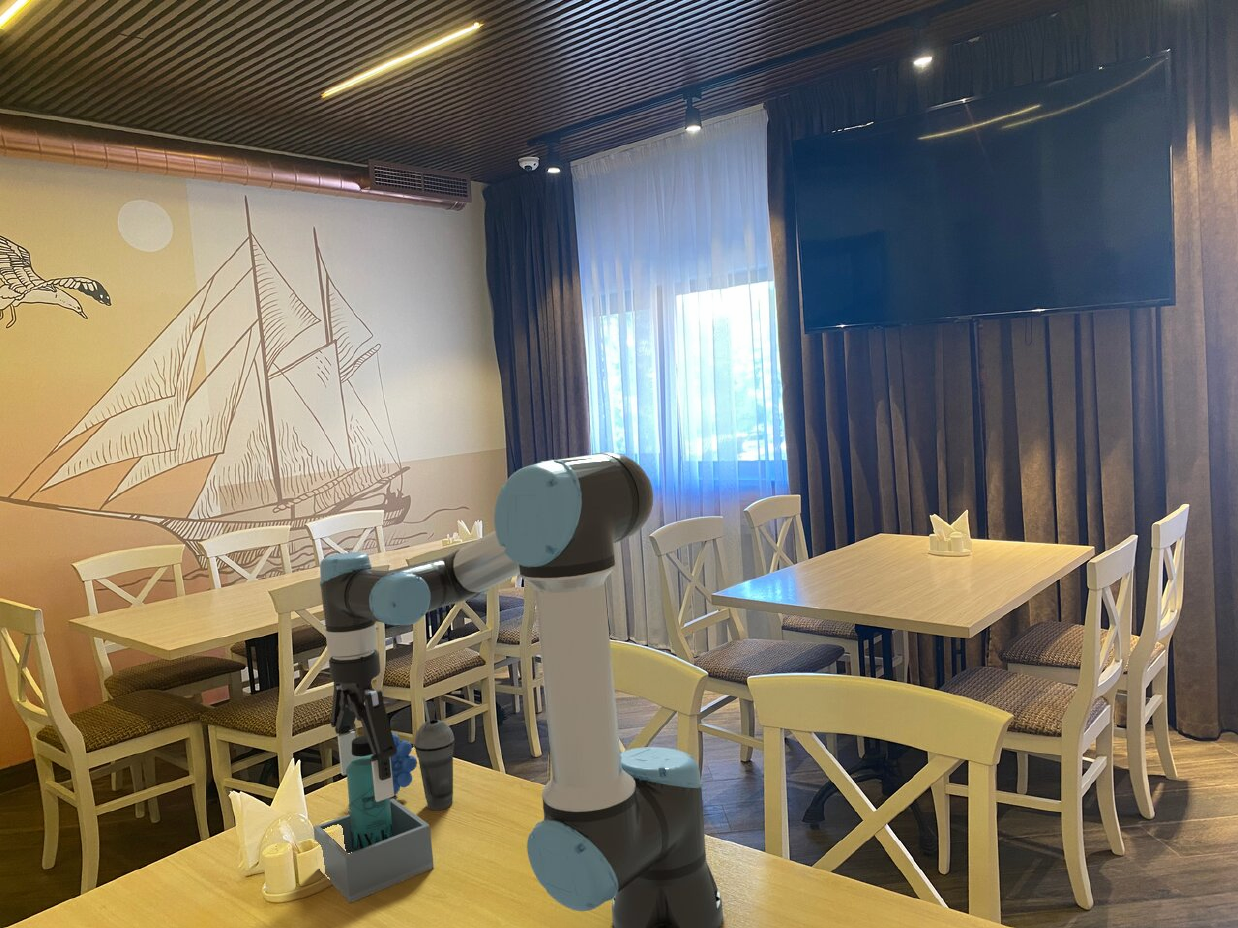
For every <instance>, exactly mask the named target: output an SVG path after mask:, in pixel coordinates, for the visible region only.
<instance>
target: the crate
mask: <svg viewBox="0 0 1238 928" xmlns="http://www.w3.org/2000/svg"><path fill="white" fill-rule="evenodd" d="M390 802H391V803H390V806H391V807H390V808H391V810H392V811H391V820H392V821H393V822H392V830H393V832H394V833H393V835H394V836H393V837H391V838H389V839H386V840H383V841H381V842H378V843H376V844H373V845H370V846H368V847H365V848H363V849H360V850H357V851H355V852H353V848H352V845H351V840H352V837H351V833H350V829H351V827H350V826H351V824H350V823H351V822H350V813H348V814H345V815H343V816H340V817H336V818H334V819H331V820H329V821H326V822H323V823H320V824H318V825H315V826H314V825H313V837H314V838H313V839H314V841H315V840H316V841H317V842H318V843H319V844H320V845H321V847H322V850H323V857H324V865H325V874H326V875H327V877H329V878H330V881H331V882H330V881H329V882H330V883H331V884H332V886H333V887H334V888H335V889H336V890H337V891H338V892H339V893H340V894H341V895H342V897H344V898H345V899H346V900H347V901H348V902H349V904H352V903H353V902H356V901H359V900H361V899H363V898H364V899H365V898H366V897H368V896H371V895H373V894H376V893H378V892H380V891H383V890H385V889H387V888H391V887H392V886H394V885H397V884H399V883H401V882H404V881H406V880H409V879H411V878H414V877H416V876H419V875H420V874H423V873H425V872H426V873H427V872H428V871H431V870H433V869H434V868H435V867H434V856H433V846H432V835H431V825H430V824H429V823H427V822H426V821H424V820H423V819H422V818H420V817H419V815H416V814H415V813H414V812H413V811H411V810H410V809H409V808H407V807H406V806H405V805H403V804H402V803H401V802H399V801H397V800H396V799H395V798H390ZM337 824H339V825H341V826H342V828H343V835H344V844H345V849H346V851H345V850H344V849H343V848H342V847H341V846H340V845H339V844H338V843H337V842H336V841H335V840H334V839H332V838H331V837H330V836H329V835H328V834H327V833H326V832H325V831H324V830H323V829H325V828H327V827H330V826H332V825H337ZM351 852H352V853H351ZM348 853H350V854H348Z"/></svg>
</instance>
